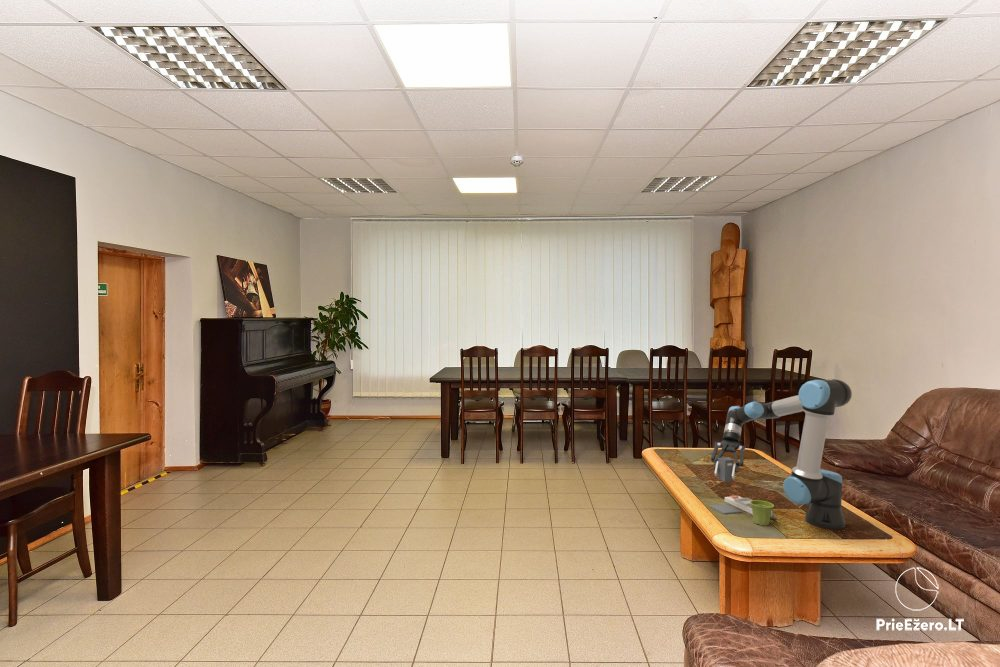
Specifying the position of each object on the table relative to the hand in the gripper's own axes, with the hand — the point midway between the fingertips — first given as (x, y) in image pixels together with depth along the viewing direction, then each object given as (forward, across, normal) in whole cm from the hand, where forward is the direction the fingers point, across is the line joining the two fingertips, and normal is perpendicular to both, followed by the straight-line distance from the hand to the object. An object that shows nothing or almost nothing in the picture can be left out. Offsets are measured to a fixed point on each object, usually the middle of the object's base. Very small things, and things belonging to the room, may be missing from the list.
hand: (724, 476), depth 250 cm
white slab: (+5, -11, -19) cm, 22 cm away
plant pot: (+16, -17, -8) cm, 24 cm away
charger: (-1, 0, -4) cm, 4 cm away
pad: (+9, 0, -14) cm, 17 cm away
